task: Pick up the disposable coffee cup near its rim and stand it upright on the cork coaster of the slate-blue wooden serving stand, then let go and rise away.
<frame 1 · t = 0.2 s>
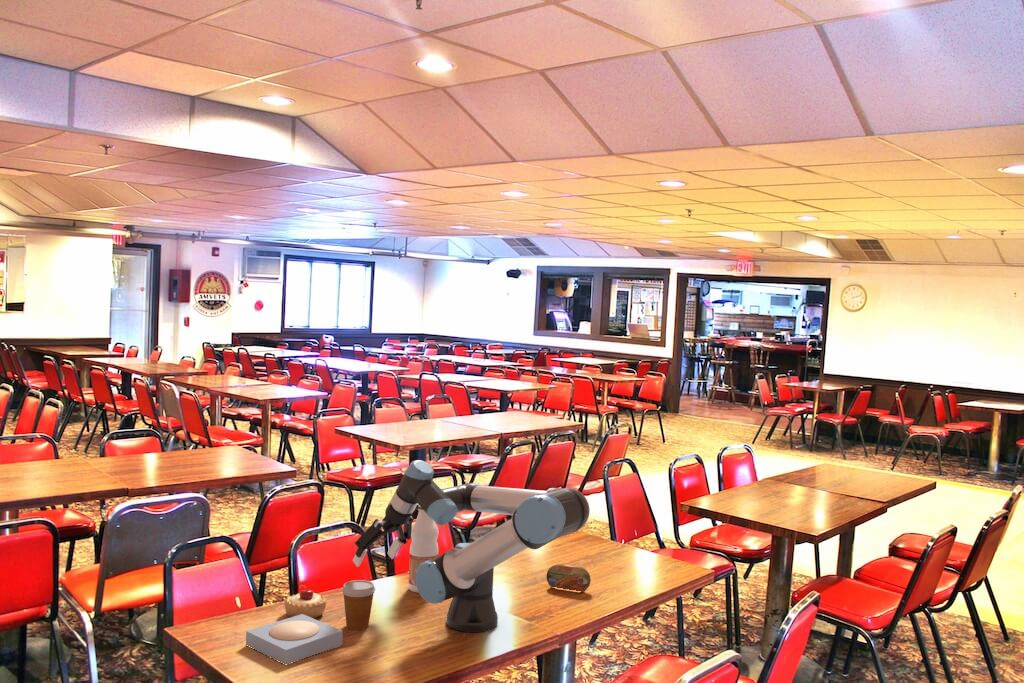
hand: (373, 559, 244), 16 cm above the table, tool tilted 30°, fingers open, 13 cm apart
tin: (568, 591, 270), on the table
disposable coffee cup: (357, 626, 232), on the table
fruit juice: (422, 589, 266), on the table
pastry: (305, 615, 240), on the table
serving stand: (294, 645, 217), on the table
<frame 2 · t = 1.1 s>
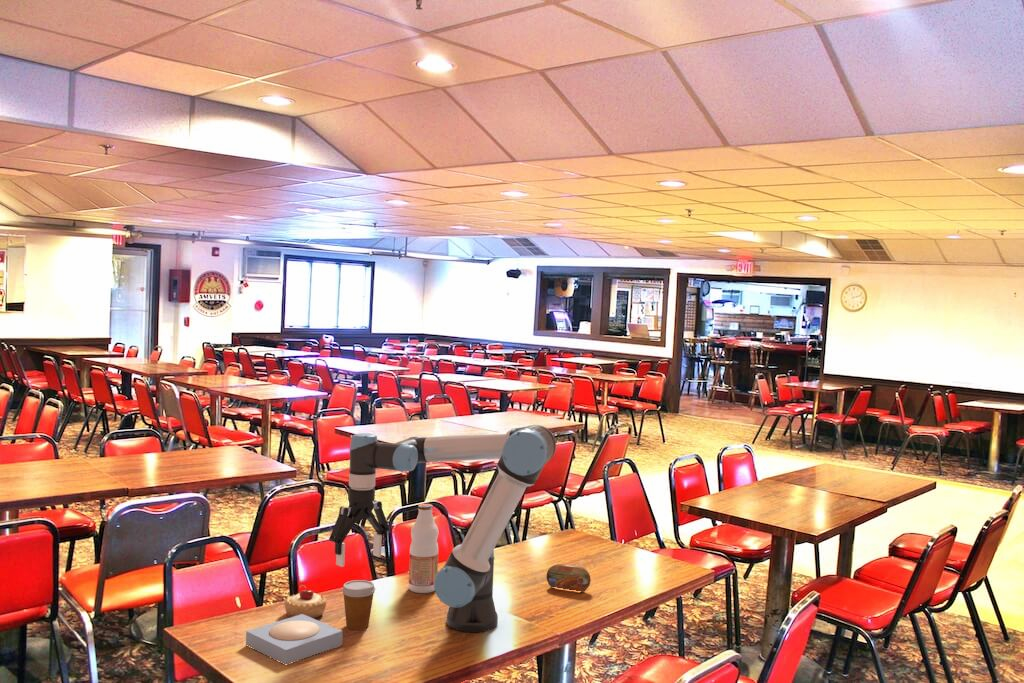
hand: (358, 560, 232), 19 cm above the table, tool pointing down, fingers open, 13 cm apart
nothing on the table moved.
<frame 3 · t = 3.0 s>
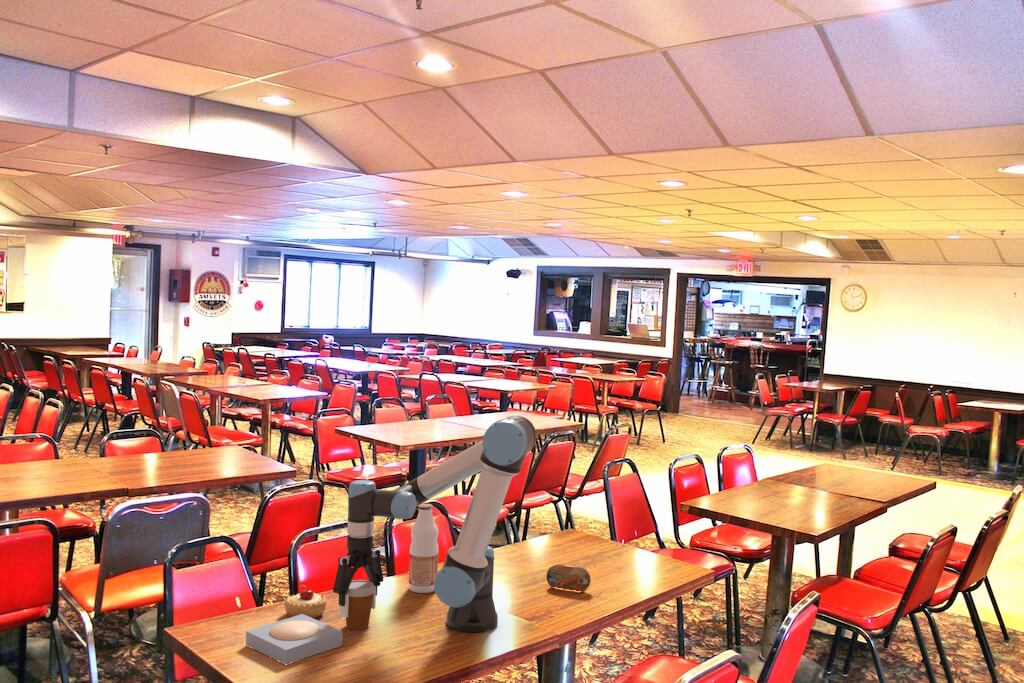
hand: (357, 611, 232), 4 cm above the table, tool pointing down, fingers closed on disposable coffee cup, 9 cm apart
disposable coffee cup: (357, 626, 232), on the table, touching gripper
everything else where it was.
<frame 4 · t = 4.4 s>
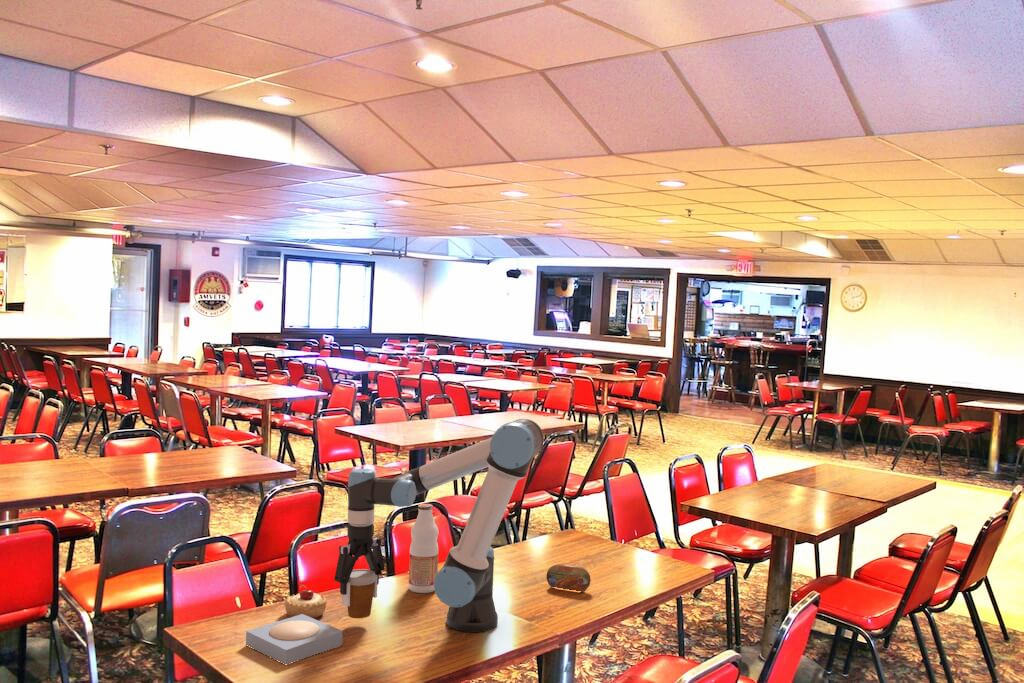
hand: (359, 600, 232), 7 cm above the table, tool pointing down, fingers closed on disposable coffee cup, 9 cm apart
disposable coffee cup: (359, 615, 232), point 3 cm above the table, touching gripper
everything else where it was.
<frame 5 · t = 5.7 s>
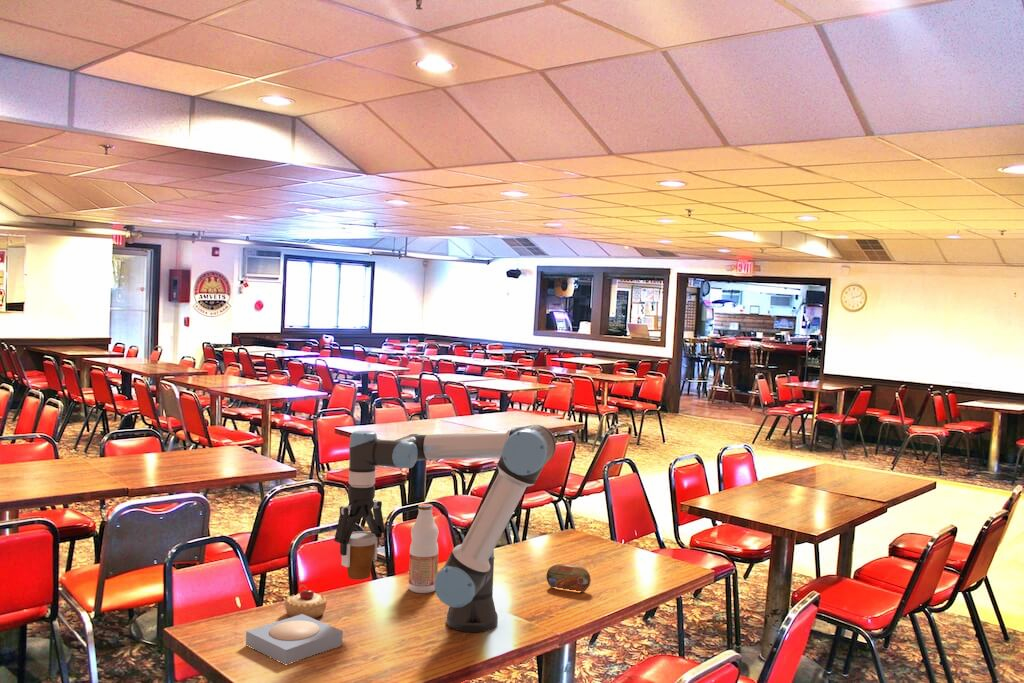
hand: (359, 562, 232), 19 cm above the table, tool pointing down, fingers closed on disposable coffee cup, 9 cm apart
disposable coffee cup: (359, 577, 232), point 14 cm above the table, touching gripper
everything else where it was.
when the fingers open (9 cm above the table, at t = 10.9 s): disposable coffee cup stays where it is, resting on serving stand.
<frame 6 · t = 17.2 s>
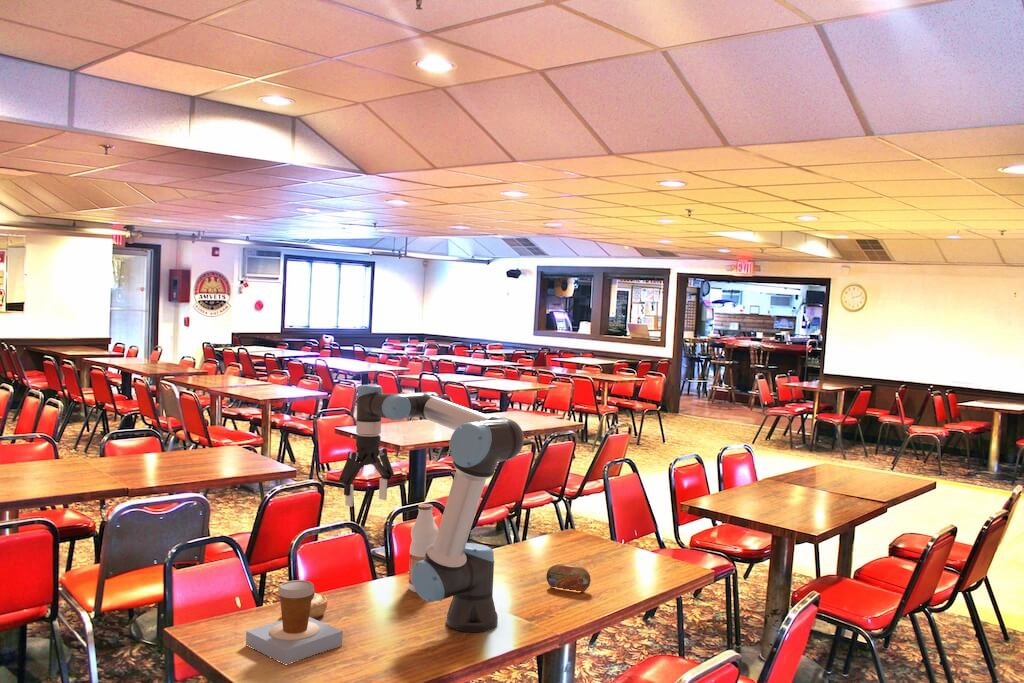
hand: (366, 502, 250), 32 cm above the table, tool pointing down, fingers open, 13 cm apart
disposable coffee cup: (295, 630, 216), point 4 cm above the table, touching serving stand
everything else where it was.
at the end: disposable coffee cup inside the target area on the serving stand (0.1 cm from its centre), point 4.2 cm above the serving stand's base; disposable coffee cup tilted 0°; the gripper is holding nothing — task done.
